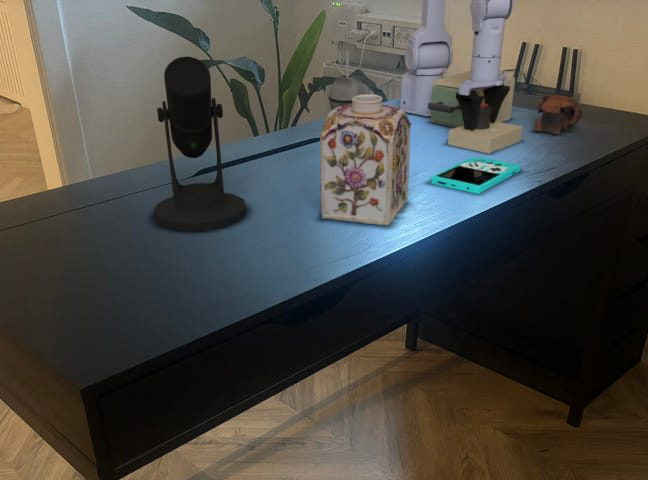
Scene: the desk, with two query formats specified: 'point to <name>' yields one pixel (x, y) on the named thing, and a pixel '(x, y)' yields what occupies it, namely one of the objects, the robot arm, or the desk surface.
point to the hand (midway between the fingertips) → (479, 125)
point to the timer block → (485, 137)
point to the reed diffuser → (345, 88)
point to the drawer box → (461, 78)
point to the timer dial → (483, 117)
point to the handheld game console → (475, 174)
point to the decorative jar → (364, 161)
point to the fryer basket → (445, 105)
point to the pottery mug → (557, 114)
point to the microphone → (194, 151)
